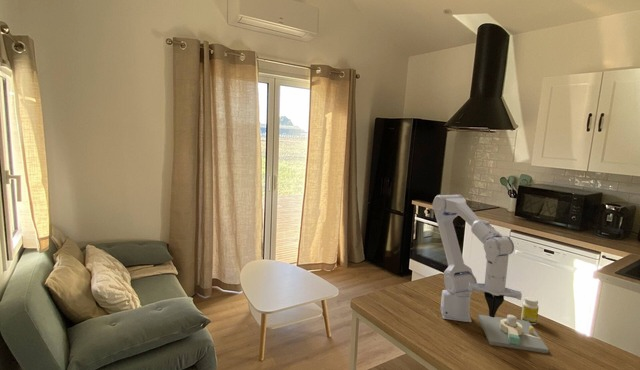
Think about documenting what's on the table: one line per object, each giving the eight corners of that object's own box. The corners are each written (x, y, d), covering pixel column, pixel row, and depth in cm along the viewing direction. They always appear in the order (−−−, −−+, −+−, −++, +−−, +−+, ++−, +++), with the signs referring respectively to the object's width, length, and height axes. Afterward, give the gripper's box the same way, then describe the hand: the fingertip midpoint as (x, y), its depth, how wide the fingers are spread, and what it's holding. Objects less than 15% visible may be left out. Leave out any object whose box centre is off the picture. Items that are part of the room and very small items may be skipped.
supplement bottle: (539, 325, 113) (542, 302, 112) (523, 323, 114) (526, 301, 113) (533, 318, 118) (535, 296, 117) (518, 316, 119) (521, 294, 118)
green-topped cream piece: (499, 322, 112) (499, 317, 112) (519, 327, 109) (520, 321, 109) (502, 341, 102) (503, 335, 101) (525, 346, 99) (526, 340, 99)
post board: (490, 344, 102) (491, 326, 101) (478, 317, 118) (479, 301, 117) (548, 353, 99) (550, 334, 98) (528, 324, 114) (530, 308, 113)
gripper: (470, 275, 101) (466, 316, 103) (525, 284, 96) (520, 327, 98) (470, 267, 108) (466, 306, 110) (521, 275, 102) (516, 316, 104)
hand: (491, 315), depth 104 cm, fingers closed
